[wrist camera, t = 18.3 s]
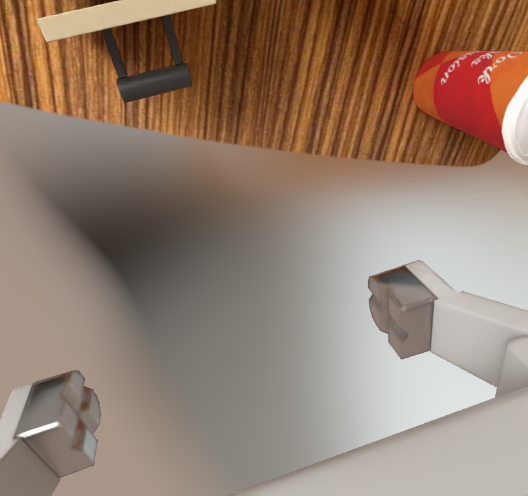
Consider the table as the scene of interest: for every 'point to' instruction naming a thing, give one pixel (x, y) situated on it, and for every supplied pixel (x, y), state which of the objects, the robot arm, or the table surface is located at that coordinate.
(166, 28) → the beige drawer
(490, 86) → the coffee cup
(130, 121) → the table surface
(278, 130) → the table surface
